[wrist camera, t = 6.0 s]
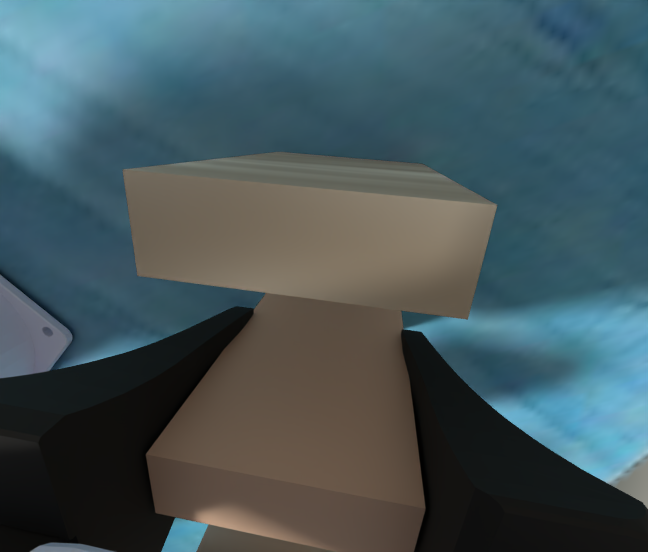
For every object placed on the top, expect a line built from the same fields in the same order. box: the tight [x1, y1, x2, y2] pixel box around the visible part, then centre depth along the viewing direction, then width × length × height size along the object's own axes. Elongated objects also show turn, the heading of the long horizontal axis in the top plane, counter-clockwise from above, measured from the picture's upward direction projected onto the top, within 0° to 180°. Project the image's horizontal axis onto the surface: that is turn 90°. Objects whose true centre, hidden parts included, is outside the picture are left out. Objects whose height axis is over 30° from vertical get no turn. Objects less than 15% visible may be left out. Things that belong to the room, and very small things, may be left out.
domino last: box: [123, 152, 497, 319], centre depth 9 cm, size 2×5×8 cm, turn 86°
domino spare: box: [146, 293, 426, 552], centre depth 10 cm, size 2×5×8 cm, turn 86°
